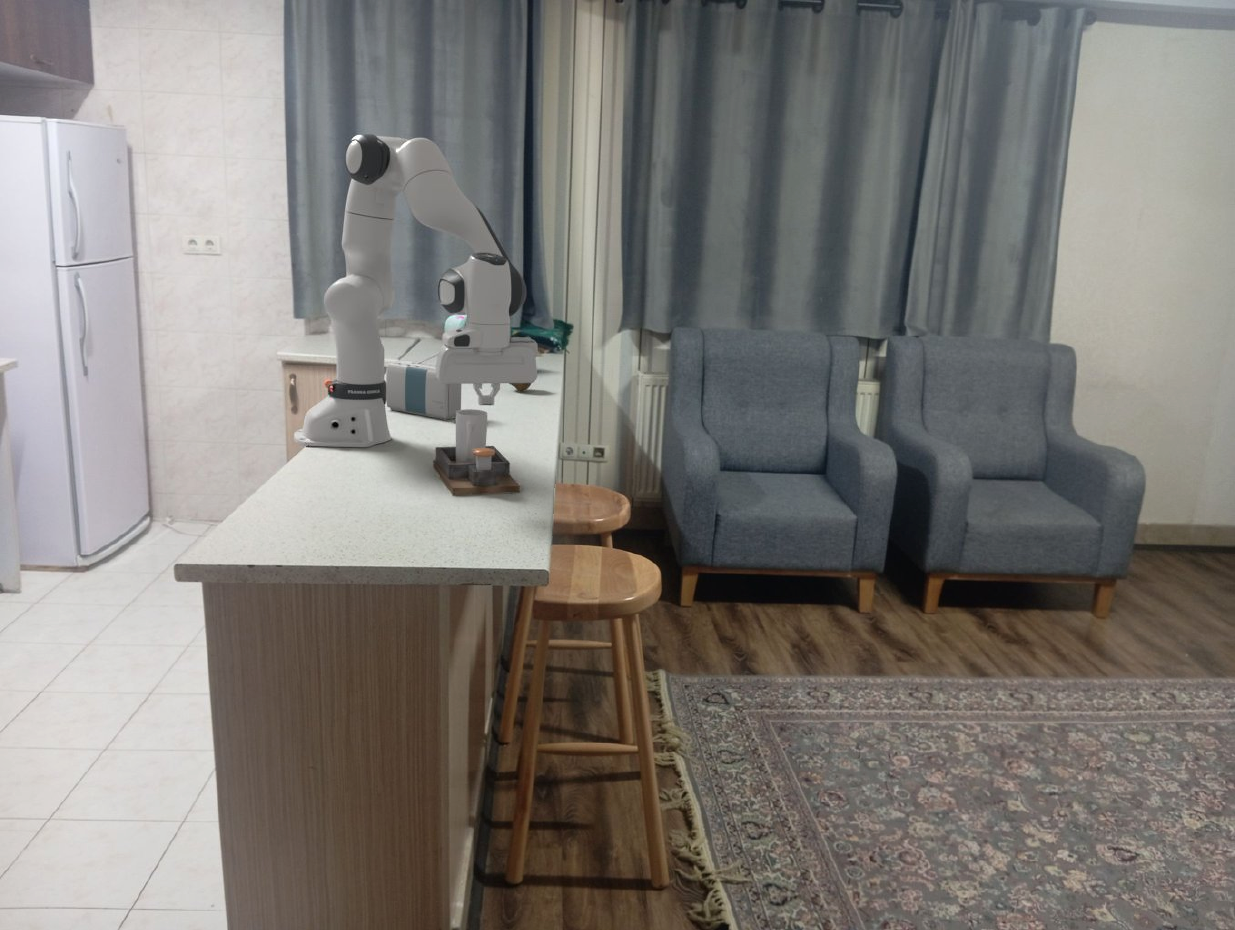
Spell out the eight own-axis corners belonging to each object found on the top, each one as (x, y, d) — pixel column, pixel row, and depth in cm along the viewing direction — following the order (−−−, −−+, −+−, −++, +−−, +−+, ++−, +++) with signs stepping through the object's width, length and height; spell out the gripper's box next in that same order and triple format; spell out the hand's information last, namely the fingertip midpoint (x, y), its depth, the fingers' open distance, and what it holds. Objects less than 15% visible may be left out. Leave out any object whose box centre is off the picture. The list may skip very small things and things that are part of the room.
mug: (456, 461, 223) (457, 408, 220) (486, 463, 224) (488, 410, 221) (451, 473, 214) (452, 418, 211) (483, 475, 214) (485, 419, 211)
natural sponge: (504, 393, 312) (505, 361, 309) (506, 387, 320) (507, 356, 318) (533, 394, 312) (534, 362, 309) (534, 389, 321) (536, 358, 318)
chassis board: (452, 495, 204) (453, 473, 203) (433, 466, 224) (433, 447, 222) (519, 492, 209) (520, 471, 208) (494, 465, 229) (495, 445, 227)
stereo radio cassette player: (384, 410, 277) (384, 337, 272) (404, 406, 284) (404, 335, 279) (446, 422, 268) (447, 347, 263) (464, 417, 275) (466, 344, 270)
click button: (475, 476, 206) (475, 453, 205) (470, 470, 210) (471, 447, 208) (496, 475, 207) (497, 452, 206) (491, 469, 211) (492, 447, 210)
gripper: (533, 334, 208) (531, 400, 211) (434, 334, 201) (433, 402, 204) (542, 339, 202) (539, 407, 206) (440, 338, 195) (439, 408, 199)
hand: (486, 404), depth 205 cm, fingers closed
